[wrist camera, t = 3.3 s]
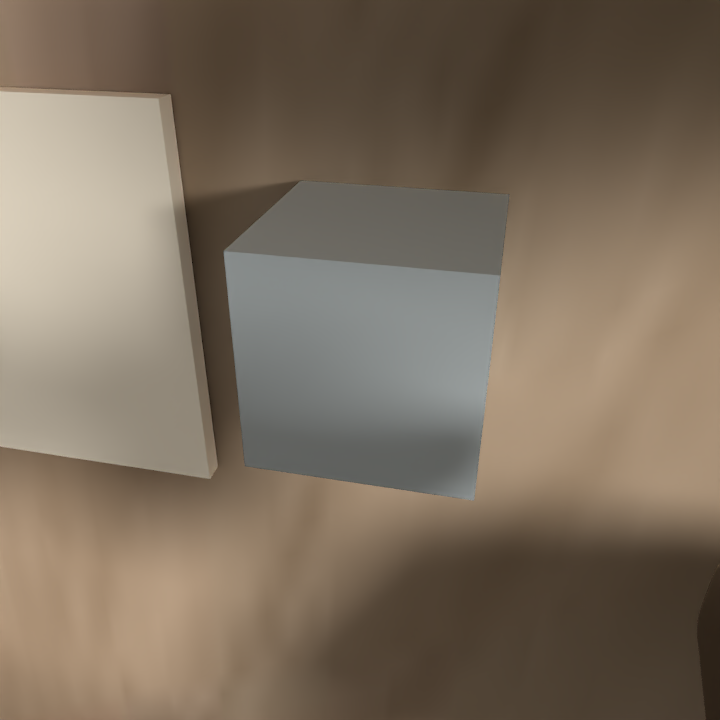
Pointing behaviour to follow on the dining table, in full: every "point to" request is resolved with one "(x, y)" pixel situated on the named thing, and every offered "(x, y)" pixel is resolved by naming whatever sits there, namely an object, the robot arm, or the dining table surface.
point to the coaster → (98, 284)
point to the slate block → (367, 333)
